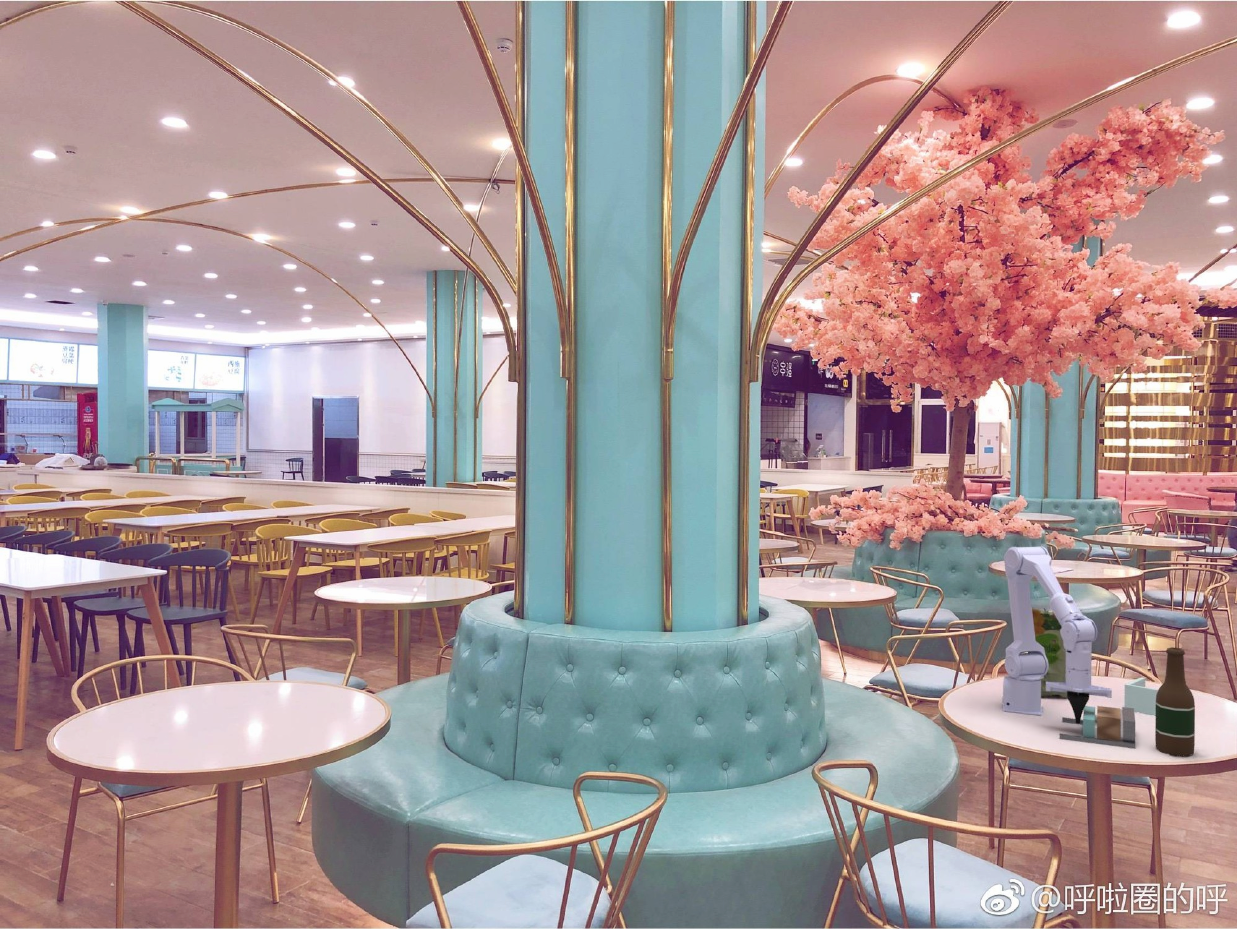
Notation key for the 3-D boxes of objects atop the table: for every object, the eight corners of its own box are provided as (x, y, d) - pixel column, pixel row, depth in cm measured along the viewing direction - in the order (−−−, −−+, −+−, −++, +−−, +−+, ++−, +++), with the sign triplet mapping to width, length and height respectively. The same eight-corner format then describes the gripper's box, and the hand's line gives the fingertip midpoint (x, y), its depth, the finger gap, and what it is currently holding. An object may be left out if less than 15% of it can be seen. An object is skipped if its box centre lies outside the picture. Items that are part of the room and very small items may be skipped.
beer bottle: (1194, 759, 209) (1195, 653, 208) (1154, 753, 213) (1155, 649, 212) (1194, 750, 215) (1195, 647, 215) (1155, 744, 219) (1156, 643, 219)
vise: (1059, 739, 223) (1059, 714, 223) (1062, 721, 238) (1062, 698, 238) (1135, 749, 216) (1135, 723, 216) (1133, 730, 230) (1133, 706, 230)
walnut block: (1096, 740, 222) (1097, 715, 222) (1097, 729, 231) (1097, 705, 231) (1120, 743, 220) (1120, 718, 220) (1120, 732, 229) (1120, 708, 229)
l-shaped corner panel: (1174, 721, 240) (1174, 693, 240) (1124, 712, 249) (1124, 684, 249) (1189, 713, 248) (1189, 685, 248) (1141, 704, 257) (1141, 677, 257)
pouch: (1070, 702, 256) (1070, 612, 256) (1023, 697, 261) (1023, 609, 261) (1069, 693, 266) (1070, 606, 266) (1024, 688, 271) (1024, 603, 271)
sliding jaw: (1082, 739, 222) (1083, 718, 222) (1083, 725, 234) (1084, 705, 234) (1096, 741, 221) (1097, 720, 221) (1097, 727, 232) (1097, 707, 232)
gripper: (1045, 668, 228) (1044, 723, 228) (1111, 674, 221) (1111, 731, 222) (1046, 662, 234) (1046, 715, 235) (1111, 668, 228) (1111, 723, 228)
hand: (1078, 722), depth 229 cm, fingers closed
